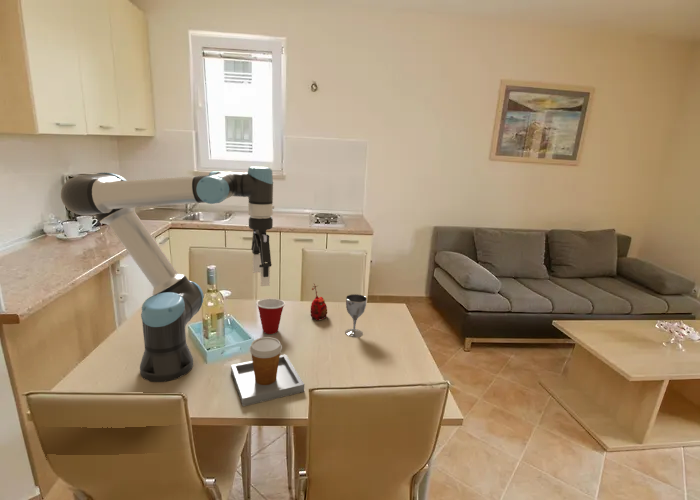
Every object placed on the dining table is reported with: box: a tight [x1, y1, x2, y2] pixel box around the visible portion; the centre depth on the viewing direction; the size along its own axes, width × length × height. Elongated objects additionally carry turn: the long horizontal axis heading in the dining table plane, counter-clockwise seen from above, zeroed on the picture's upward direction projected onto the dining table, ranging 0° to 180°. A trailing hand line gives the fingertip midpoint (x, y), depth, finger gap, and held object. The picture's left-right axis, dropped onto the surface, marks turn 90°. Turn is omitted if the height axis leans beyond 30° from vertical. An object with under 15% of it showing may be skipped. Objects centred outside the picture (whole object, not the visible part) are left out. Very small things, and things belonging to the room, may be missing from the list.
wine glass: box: [344, 293, 368, 338], centre depth 150 cm, size 8×8×15 cm
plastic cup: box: [256, 298, 286, 335], centre depth 148 cm, size 11×11×12 cm
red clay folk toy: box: [310, 283, 328, 321], centre depth 162 cm, size 8×7×15 cm
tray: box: [230, 353, 305, 407], centre depth 118 cm, size 18×18×2 cm
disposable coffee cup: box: [249, 336, 283, 385], centre depth 116 cm, size 10×10×12 cm
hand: (260, 278), depth 129 cm, fingers open, 13 cm apart
